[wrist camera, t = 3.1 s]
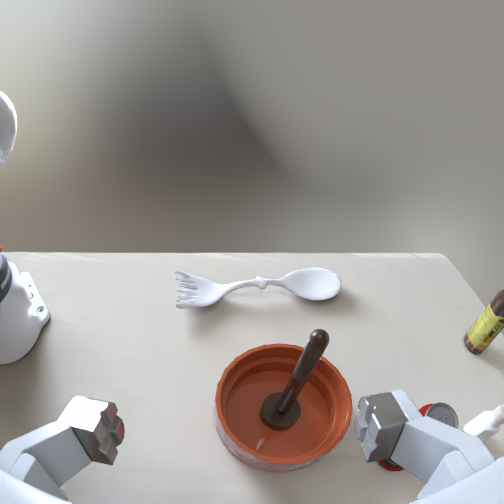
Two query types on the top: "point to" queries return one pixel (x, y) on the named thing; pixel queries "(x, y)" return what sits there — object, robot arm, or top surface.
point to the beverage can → (434, 411)
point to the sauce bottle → (486, 325)
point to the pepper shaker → (486, 423)
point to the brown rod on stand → (294, 386)
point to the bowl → (272, 381)
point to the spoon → (297, 282)
